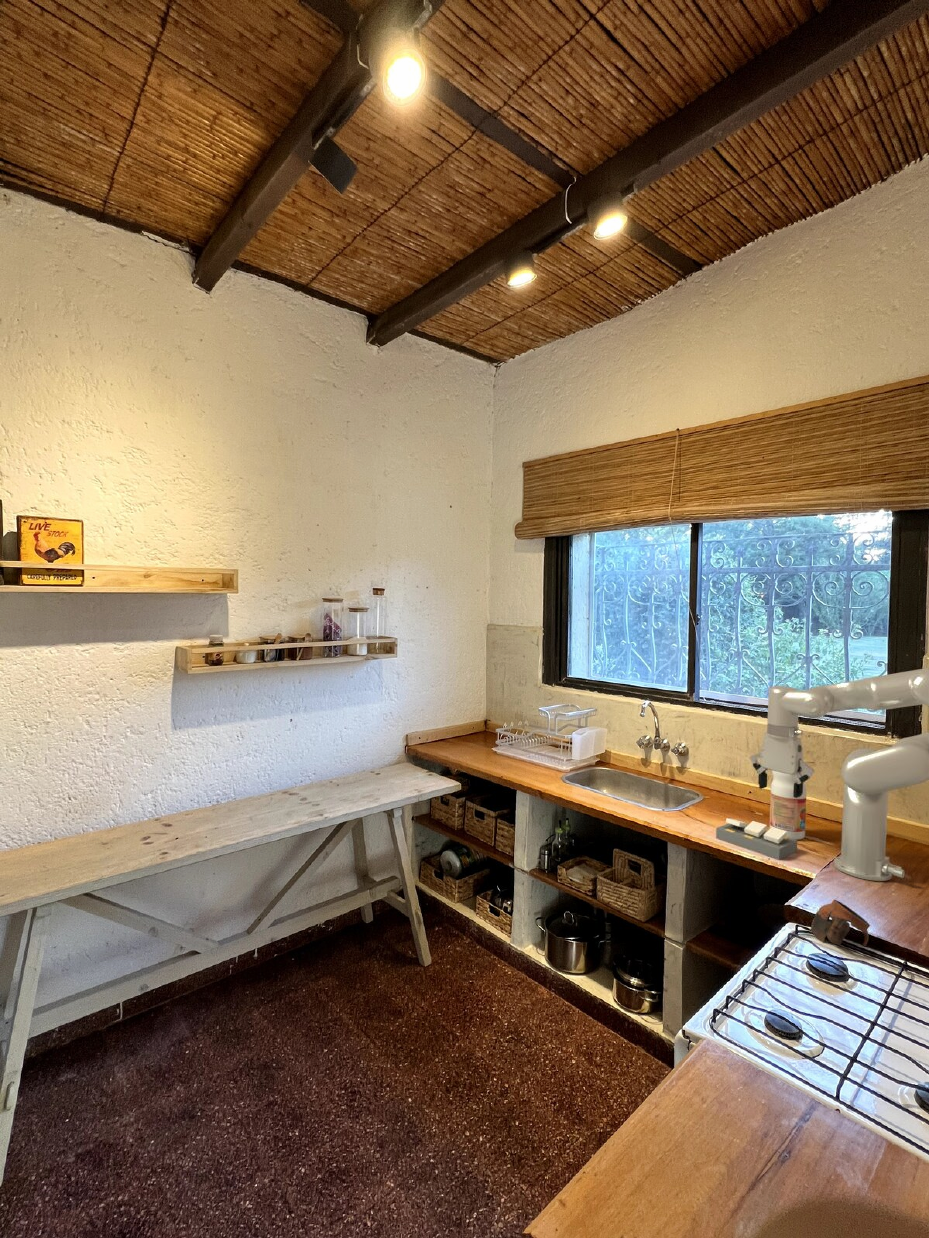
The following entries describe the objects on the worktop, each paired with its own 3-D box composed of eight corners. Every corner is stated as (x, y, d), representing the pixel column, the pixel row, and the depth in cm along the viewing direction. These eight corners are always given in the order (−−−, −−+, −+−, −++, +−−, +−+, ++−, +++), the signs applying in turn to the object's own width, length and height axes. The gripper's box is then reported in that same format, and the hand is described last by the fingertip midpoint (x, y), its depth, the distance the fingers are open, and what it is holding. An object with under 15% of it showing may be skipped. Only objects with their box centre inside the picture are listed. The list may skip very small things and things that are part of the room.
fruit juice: (764, 827, 184) (767, 737, 184) (797, 830, 182) (800, 739, 182) (775, 838, 174) (778, 743, 174) (810, 841, 173) (813, 745, 173)
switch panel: (796, 851, 166) (797, 840, 166) (778, 860, 160) (779, 848, 160) (734, 830, 180) (735, 820, 180) (716, 838, 174) (716, 827, 174)
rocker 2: (767, 829, 170) (766, 825, 169) (758, 837, 167) (758, 833, 167) (753, 825, 173) (752, 820, 173) (744, 833, 170) (744, 828, 170)
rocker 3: (787, 836, 165) (786, 831, 165) (778, 844, 162) (778, 839, 162) (772, 831, 169) (772, 826, 168) (764, 839, 166) (763, 834, 165)
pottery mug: (806, 923, 128) (828, 892, 128) (852, 957, 123) (875, 925, 123) (805, 933, 118) (829, 899, 118) (855, 971, 113) (880, 936, 113)
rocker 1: (747, 828, 174) (748, 823, 174) (739, 827, 171) (739, 822, 171) (734, 824, 177) (735, 819, 177) (725, 823, 174) (726, 818, 174)
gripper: (821, 735, 161) (819, 798, 162) (758, 724, 175) (756, 782, 175) (808, 738, 157) (806, 803, 157) (744, 726, 171) (742, 786, 171)
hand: (779, 792), depth 166 cm, fingers open, 9 cm apart
